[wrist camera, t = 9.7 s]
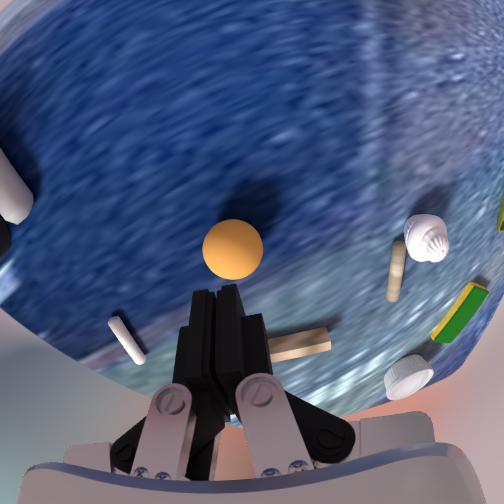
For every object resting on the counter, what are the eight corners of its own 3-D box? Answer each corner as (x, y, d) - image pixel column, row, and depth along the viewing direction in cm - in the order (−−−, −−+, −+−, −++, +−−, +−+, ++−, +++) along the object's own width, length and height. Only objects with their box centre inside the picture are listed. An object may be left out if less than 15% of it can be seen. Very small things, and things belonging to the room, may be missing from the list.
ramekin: (426, 362, 51) (435, 379, 46) (386, 387, 54) (393, 405, 49) (420, 342, 46) (431, 361, 41) (374, 371, 49) (382, 391, 44)
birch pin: (404, 240, 32) (397, 292, 37) (390, 240, 33) (385, 292, 38) (408, 248, 31) (399, 301, 35) (393, 248, 31) (386, 302, 36)
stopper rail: (325, 326, 39) (330, 341, 37) (325, 334, 40) (330, 349, 38) (206, 349, 40) (206, 364, 37) (210, 356, 41) (210, 372, 38)
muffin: (386, 239, 32) (414, 270, 26) (408, 197, 30) (441, 222, 24) (416, 251, 34) (443, 280, 28) (437, 213, 31) (469, 238, 25)
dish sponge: (483, 285, 41) (489, 292, 39) (445, 335, 47) (450, 343, 45) (468, 279, 39) (476, 286, 37) (428, 334, 45) (433, 342, 43)
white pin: (106, 320, 35) (133, 359, 40) (109, 327, 34) (137, 366, 38) (117, 313, 36) (143, 353, 41) (121, 320, 35) (147, 360, 39)
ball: (265, 290, 27) (266, 249, 32) (257, 244, 23) (260, 205, 28) (206, 292, 28) (214, 252, 33) (189, 249, 24) (202, 210, 29)
